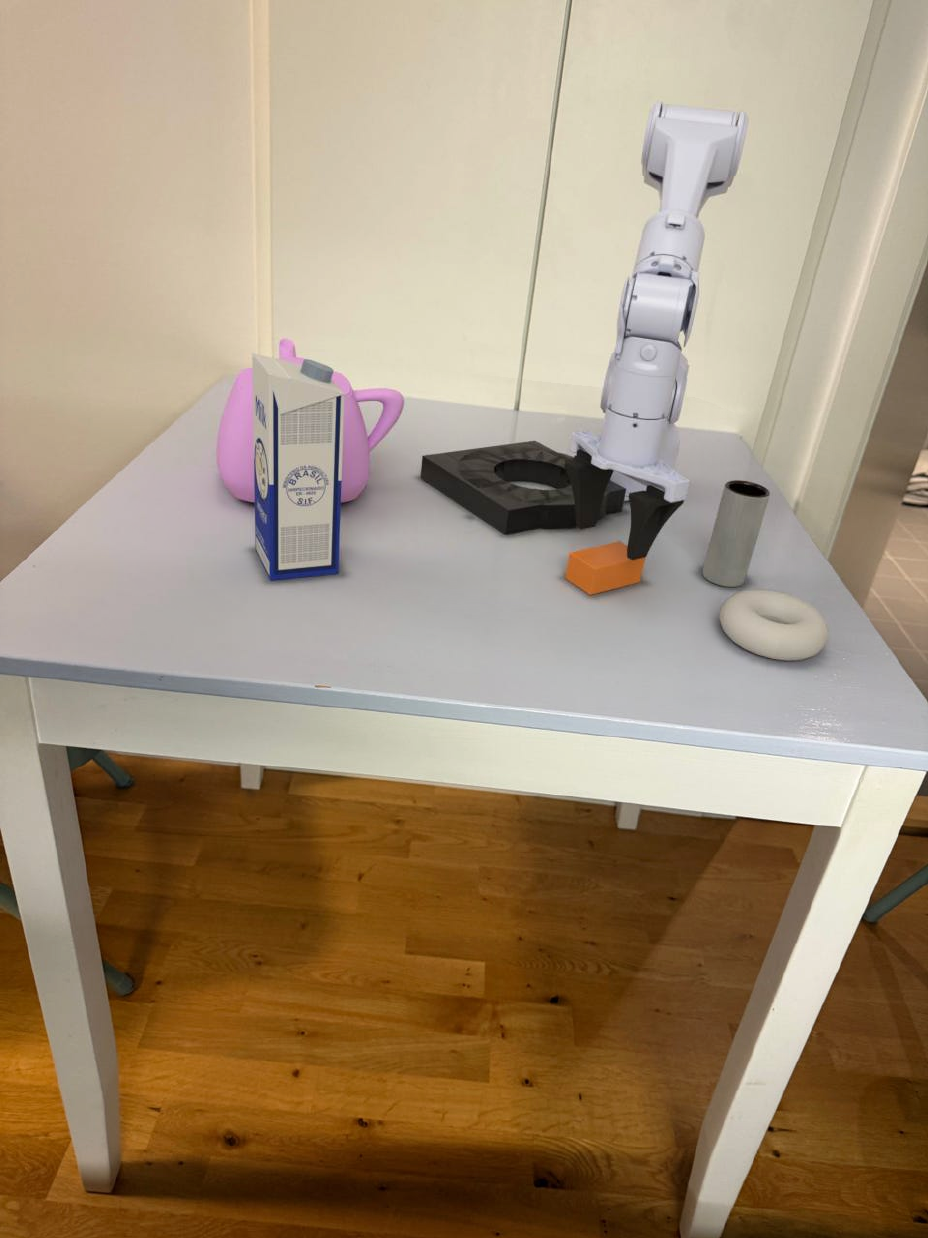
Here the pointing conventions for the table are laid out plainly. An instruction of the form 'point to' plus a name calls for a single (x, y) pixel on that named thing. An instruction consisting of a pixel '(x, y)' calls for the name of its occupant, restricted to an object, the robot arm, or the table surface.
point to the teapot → (357, 446)
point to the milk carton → (297, 467)
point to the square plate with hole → (512, 486)
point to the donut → (774, 625)
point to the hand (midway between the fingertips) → (610, 541)
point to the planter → (735, 532)
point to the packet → (603, 568)
